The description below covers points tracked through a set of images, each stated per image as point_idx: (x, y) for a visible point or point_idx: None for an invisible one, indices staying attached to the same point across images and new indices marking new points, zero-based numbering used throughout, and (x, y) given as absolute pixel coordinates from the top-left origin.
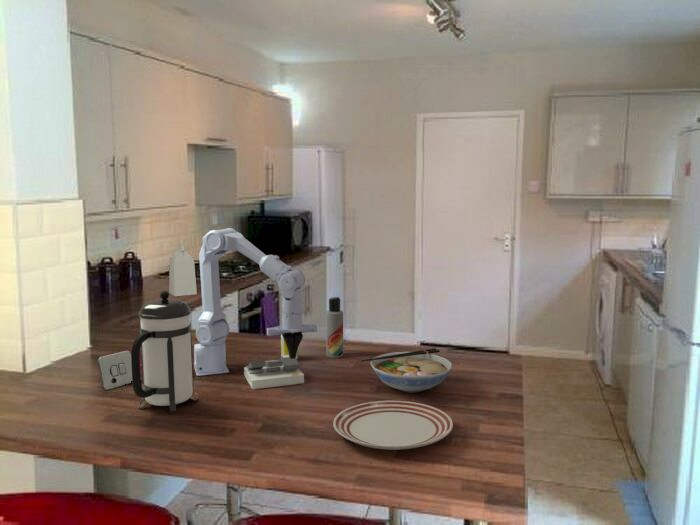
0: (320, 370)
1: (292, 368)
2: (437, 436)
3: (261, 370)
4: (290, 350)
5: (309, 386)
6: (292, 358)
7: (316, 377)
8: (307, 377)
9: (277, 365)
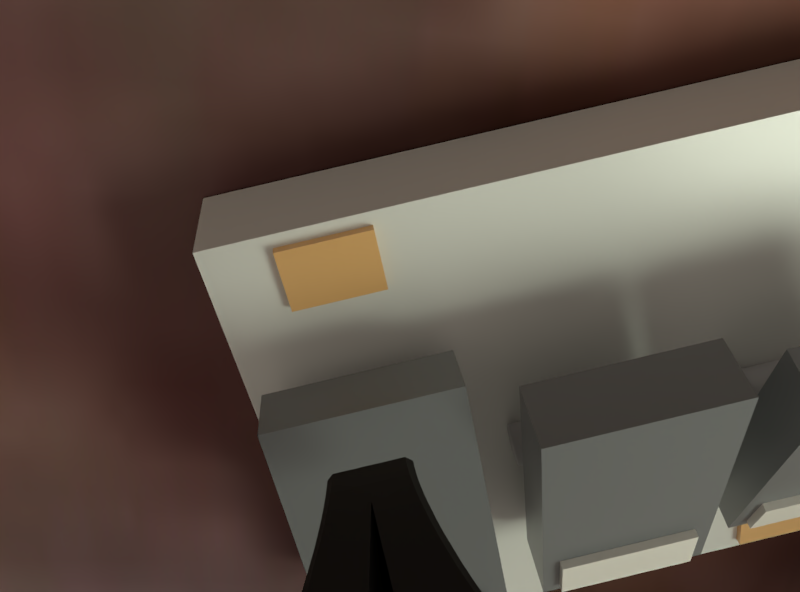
0: (42, 554)
1: (365, 378)
2: None
3: (752, 378)
4: (454, 569)
5: (117, 64)
6: (384, 465)
7: (59, 373)
8: (172, 378)
9: (601, 378)
